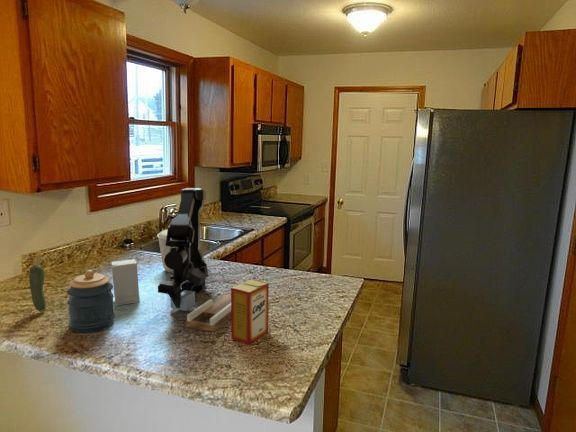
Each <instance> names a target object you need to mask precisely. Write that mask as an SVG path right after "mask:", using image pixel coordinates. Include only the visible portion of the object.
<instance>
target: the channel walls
mask: <svg viewBox="0 0 576 432" xmlns="http://www.w3.org/2000/svg"><path fill="white" fill-rule="evenodd" d="M212 302H213V299H211V298H210V299H208V300H207V301H205V302H204V303H202V304H201V305H199V306H198V307H196V308H194V309H195V310H193V311H192V312H191V313H189V314H188V315H187V317H186V320H187V321H191V320H193V319H194V318H195V317H197V316H198V315H200V314H201V313H202V312H204V311H205V310H207V309H208V308H209V307H211V306H212ZM230 311H231V303H230V304H228V305H227V306H226V307H225V308H223V309H222V310H221V311H219V312H218V313H217V314H215V315H214V316H213V317H212V318H210V325H212V326H213V325H214V324H215V323H217V322H218V321H219V320H220V319H222V318H223V317H224V316H225V315H226V314H228V313H229V312H230Z"/></svg>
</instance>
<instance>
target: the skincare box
mask: <svg viewBox="0 0 576 432" xmlns="http://www.w3.org/2000/svg"><path fill="white" fill-rule="evenodd" d="M111 274H112V285H113V292H114V293H113V296H114V302H115V303H114V304H115V306H116V307H117V306H123V305H127V304H128V305H129V304H136V303H139V302H140V301H141V300H140V289H139V277H138V276H139V275H138V274H139V273H138V262H137V261H136V259H135V258H132V259H124V260H117V261H115V260H114V261H111Z"/></svg>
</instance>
